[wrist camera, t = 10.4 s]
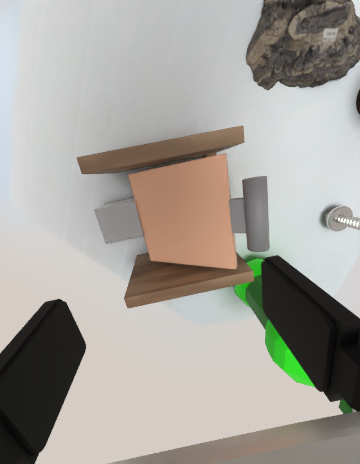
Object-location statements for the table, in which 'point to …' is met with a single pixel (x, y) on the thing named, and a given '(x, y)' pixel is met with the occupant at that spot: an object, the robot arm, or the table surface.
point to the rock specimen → (304, 42)
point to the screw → (341, 219)
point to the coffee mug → (358, 102)
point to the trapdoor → (199, 213)
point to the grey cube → (119, 220)
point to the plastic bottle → (274, 331)
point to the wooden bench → (146, 271)
